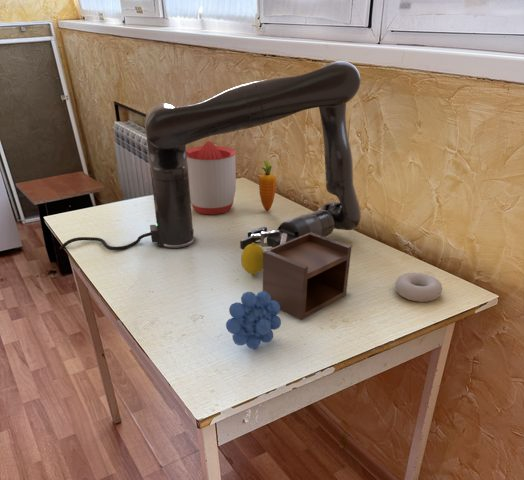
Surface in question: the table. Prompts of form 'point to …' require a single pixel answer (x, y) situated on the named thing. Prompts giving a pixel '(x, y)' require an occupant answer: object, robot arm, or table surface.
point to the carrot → (267, 187)
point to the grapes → (253, 319)
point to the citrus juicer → (211, 178)
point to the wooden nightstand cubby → (306, 273)
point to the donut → (418, 287)
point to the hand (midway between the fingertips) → (254, 250)
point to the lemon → (252, 258)
